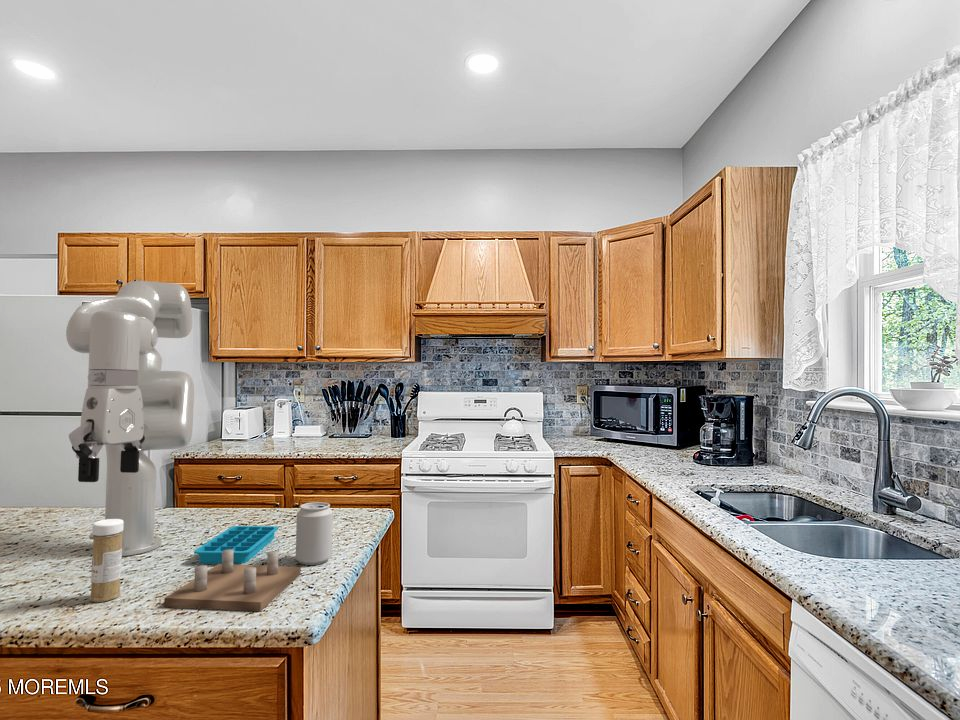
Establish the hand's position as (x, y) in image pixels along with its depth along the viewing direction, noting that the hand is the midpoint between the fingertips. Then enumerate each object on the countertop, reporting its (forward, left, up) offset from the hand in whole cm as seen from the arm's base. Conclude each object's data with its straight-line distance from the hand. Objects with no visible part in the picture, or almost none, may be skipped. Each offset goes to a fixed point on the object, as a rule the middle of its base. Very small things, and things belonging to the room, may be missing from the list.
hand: (109, 476), depth 96 cm
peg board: (+21, +6, -21) cm, 30 cm away
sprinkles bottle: (0, 0, -22) cm, 22 cm away
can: (+29, +23, -22) cm, 43 cm away
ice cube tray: (+10, +28, -22) cm, 37 cm away
